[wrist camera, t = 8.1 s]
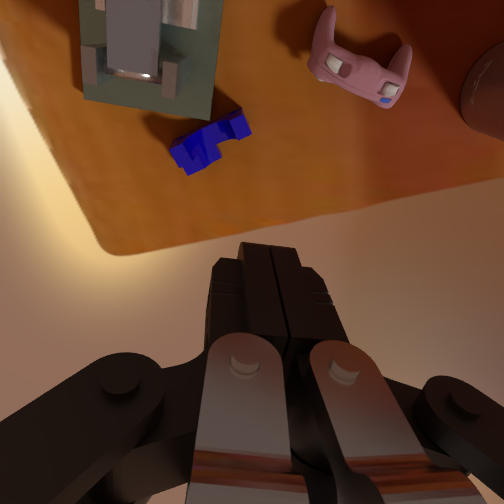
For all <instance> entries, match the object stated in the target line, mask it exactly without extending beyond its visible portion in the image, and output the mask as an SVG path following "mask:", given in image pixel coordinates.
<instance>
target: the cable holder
mask: <svg viewBox="0 0 504 504" xmlns="http://www.w3.org/2000/svg"><path fill="white" fill-rule="evenodd" d="M251 134H252V132H251V129H250V126H249V123H248V121H247V119H246V116H245V114H244V112H243V109H242V107H241V108H239V109H237V110H235V111H232V112H230V113H228V114H226V115H224V116H222V117H220V118H218V119H216V120H214V121H212V122H210V123H208V124H205V125H203V126H201V127H199V128H197V129H195V130H193V131H191V132H189V133H187V134H185V135H183V136H181V137H178V138H176V139H174V140H173V142H172V144H171V146H170V149H169V151H170V153H171V154H172V156H173V158H174V160H175V161H176V163H177V165H178V167H179V168H180V167H183V168H184V170H185V172H186V174H187V176H189V175H191V174H193V173H195V172H197V171H200V170H202V169H204V168H205V167H207V166H208V165H209V164H211V163H212V162H214V161H216V160H218V159H220V158H222V154H221V152H220V150H219V148H218V146H217V144H218V143H220V142H223V141H226V140H229V139H237V140H240V139H242V138H245V137H247V136H249V135H251Z"/></svg>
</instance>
